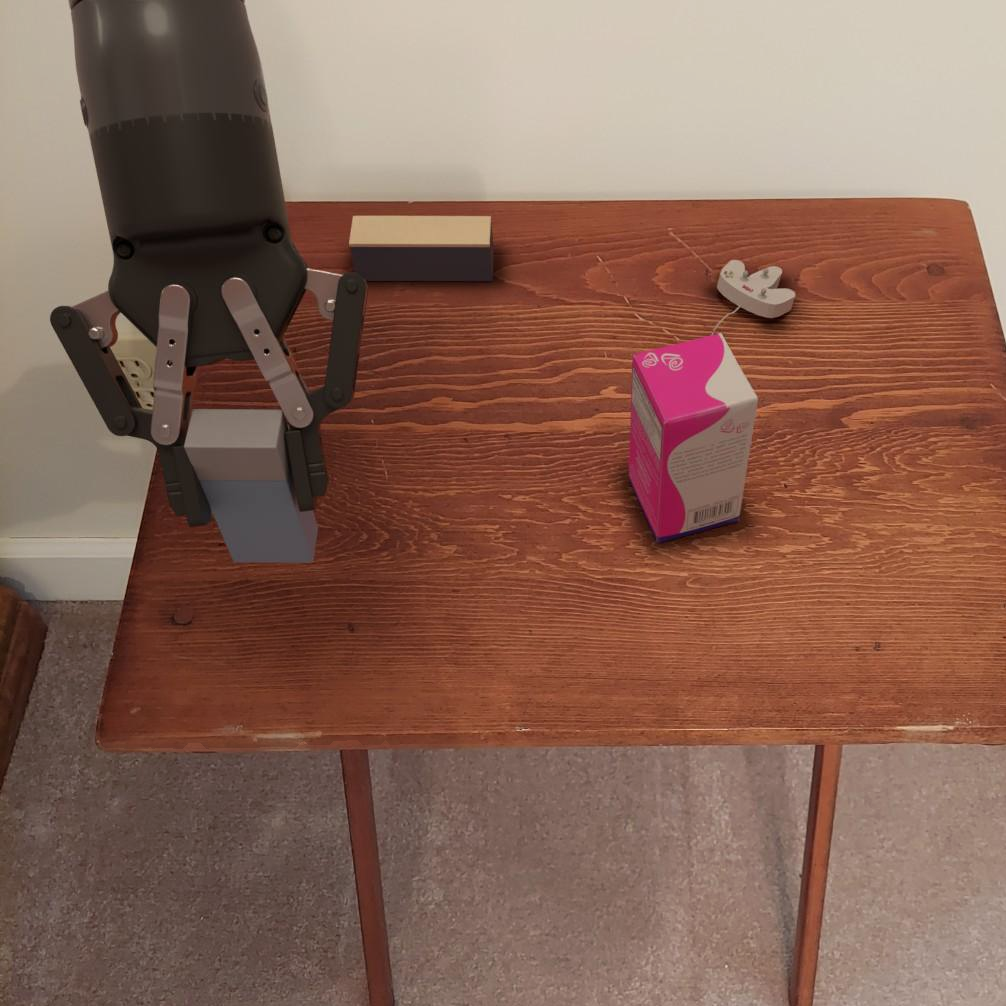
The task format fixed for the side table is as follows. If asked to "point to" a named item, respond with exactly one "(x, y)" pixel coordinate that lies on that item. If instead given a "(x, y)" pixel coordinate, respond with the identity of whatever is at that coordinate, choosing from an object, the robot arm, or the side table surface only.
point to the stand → (422, 248)
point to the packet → (251, 484)
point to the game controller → (755, 290)
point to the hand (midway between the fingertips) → (254, 514)
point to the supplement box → (690, 436)
